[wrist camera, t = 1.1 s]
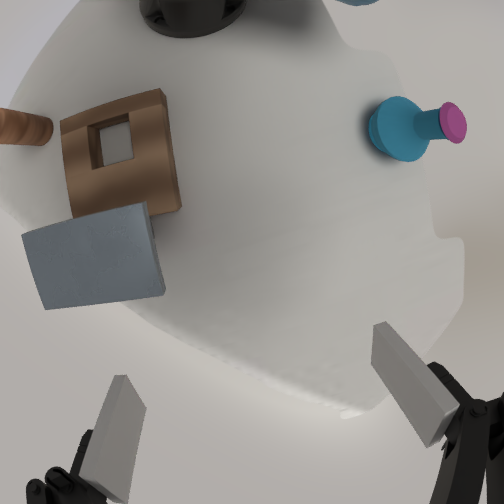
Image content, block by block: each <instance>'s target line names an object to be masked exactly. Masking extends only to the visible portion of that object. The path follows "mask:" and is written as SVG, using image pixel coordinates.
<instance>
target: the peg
mask: <svg viewBox="0 0 504 504" xmlns="http://www.w3.org/2000/svg"><path fill="white" fill-rule="evenodd" d="M52 133H53V123H52V121H51V119H50V118H47V117H43V116H38V115H34V114H29V113H25V112H20V111H15V110H10V109H4V108H0V144H13V145H35V146H42V145H45V144H46V143H47V142H48V141H49V140H50V138H51V136H52Z"/></svg>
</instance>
